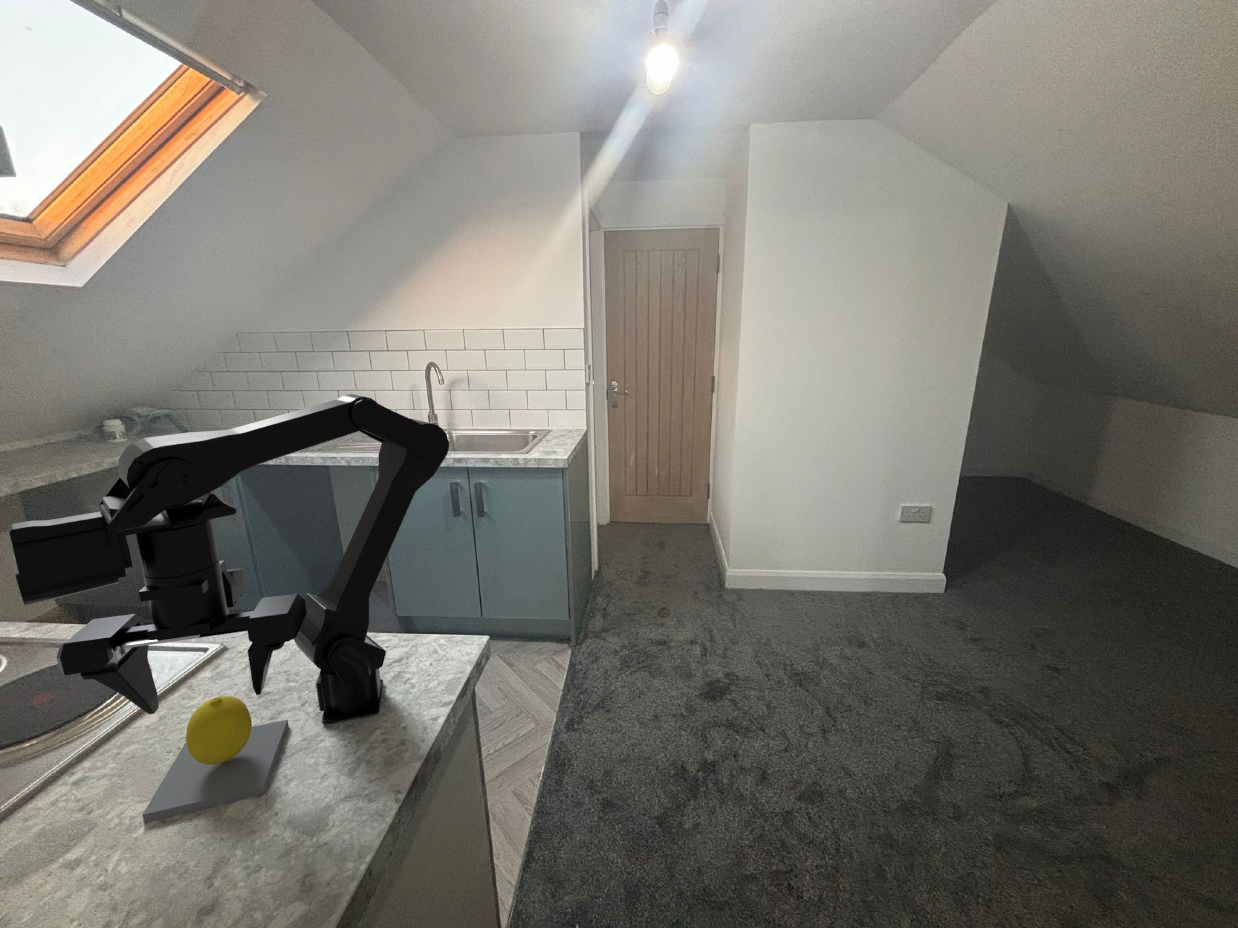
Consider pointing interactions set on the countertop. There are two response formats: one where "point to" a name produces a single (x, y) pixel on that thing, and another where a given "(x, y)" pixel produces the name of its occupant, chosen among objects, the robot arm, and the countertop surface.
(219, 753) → the lemon
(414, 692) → the countertop surface
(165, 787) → the mat
